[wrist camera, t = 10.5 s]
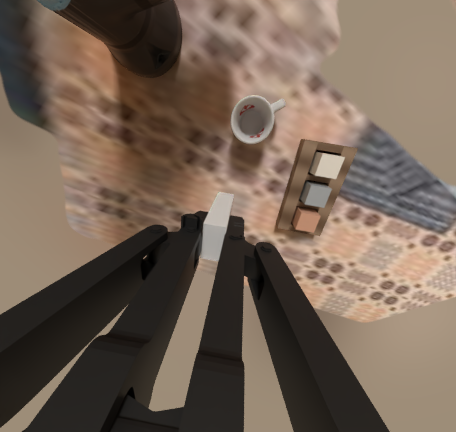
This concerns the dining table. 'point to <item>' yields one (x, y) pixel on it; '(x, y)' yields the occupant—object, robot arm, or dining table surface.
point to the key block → (301, 174)
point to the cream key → (326, 165)
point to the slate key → (315, 194)
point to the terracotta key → (305, 219)
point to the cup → (254, 118)
